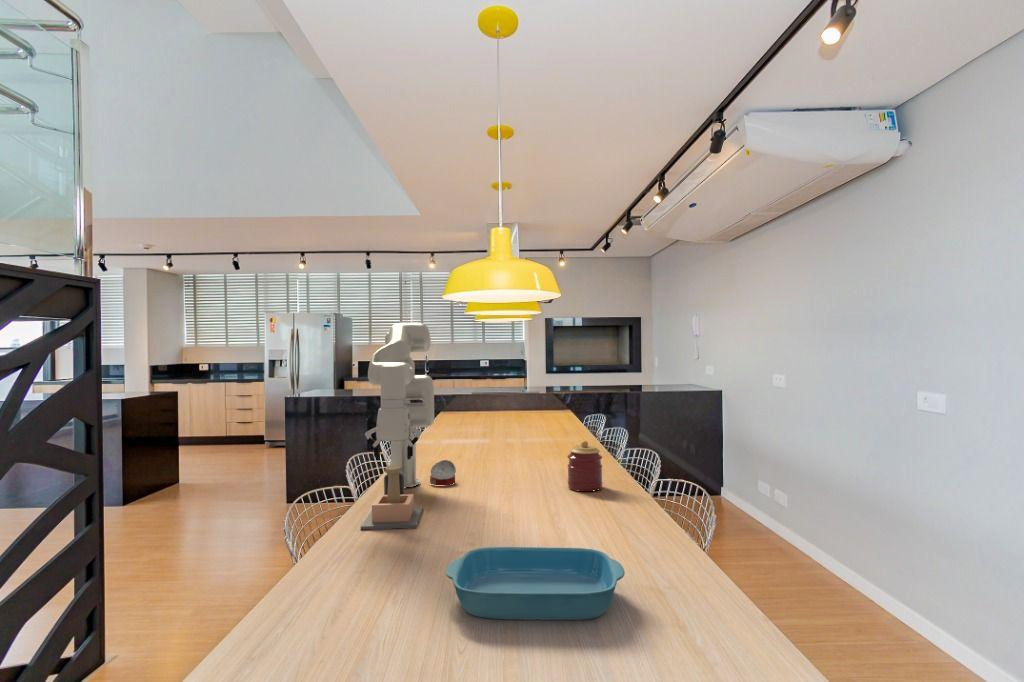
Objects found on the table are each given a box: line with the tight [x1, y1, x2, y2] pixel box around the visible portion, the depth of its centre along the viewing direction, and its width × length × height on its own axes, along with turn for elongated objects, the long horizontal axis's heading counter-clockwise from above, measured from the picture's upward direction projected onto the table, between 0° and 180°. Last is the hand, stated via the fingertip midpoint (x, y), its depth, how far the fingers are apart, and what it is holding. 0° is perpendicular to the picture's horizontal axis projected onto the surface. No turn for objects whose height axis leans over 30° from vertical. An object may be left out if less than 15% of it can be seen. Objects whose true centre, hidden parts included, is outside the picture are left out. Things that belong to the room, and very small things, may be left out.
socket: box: [360, 493, 424, 530], centre depth 159 cm, size 18×16×6 cm
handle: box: [384, 464, 402, 504], centre depth 159 cm, size 5×6×15 cm
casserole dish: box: [445, 546, 626, 621], centre depth 107 cm, size 37×22×7 cm, turn 86°
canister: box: [566, 440, 604, 492], centre depth 193 cm, size 13×13×18 cm
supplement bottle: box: [383, 473, 405, 495], centre depth 178 cm, size 7×7×12 cm
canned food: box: [429, 459, 457, 485], centre depth 202 cm, size 11×10×10 cm
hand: (393, 458), depth 160 cm, fingers open, 9 cm apart
